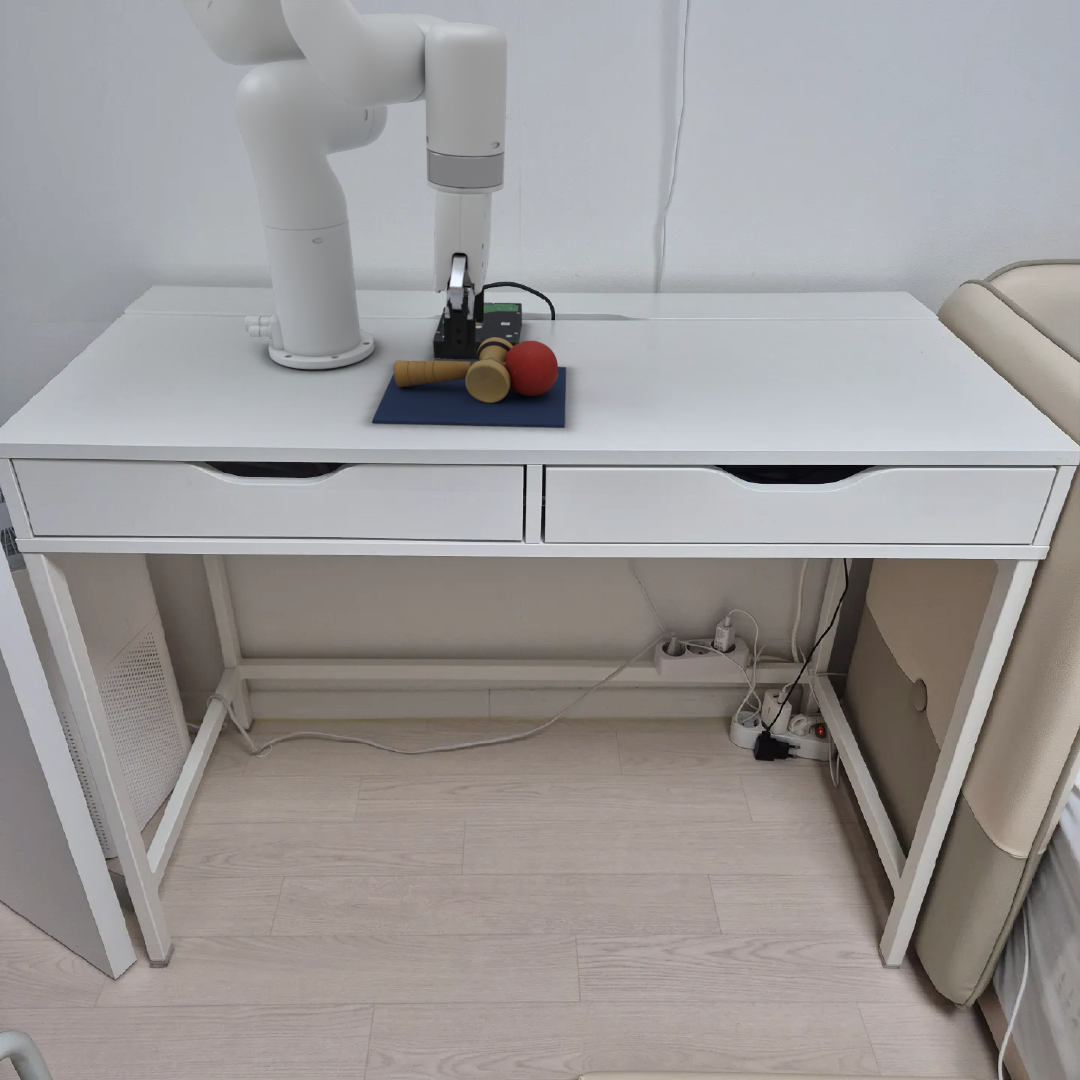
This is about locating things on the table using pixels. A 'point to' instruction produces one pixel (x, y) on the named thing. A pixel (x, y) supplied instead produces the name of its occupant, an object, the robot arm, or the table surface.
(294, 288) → the robot arm
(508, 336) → the disk drive
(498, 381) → the kendama
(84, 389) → the table surface
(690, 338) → the table surface
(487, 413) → the napkin
